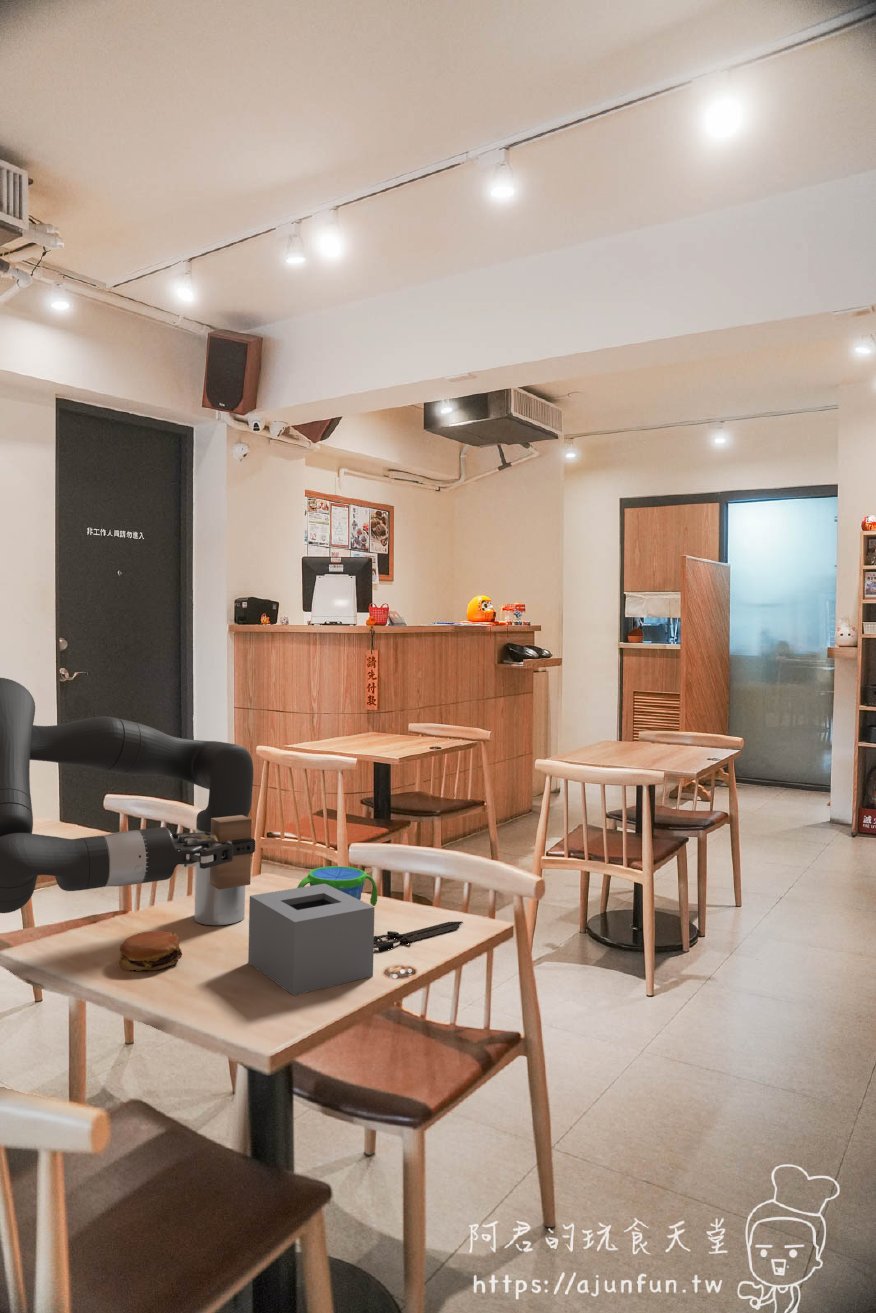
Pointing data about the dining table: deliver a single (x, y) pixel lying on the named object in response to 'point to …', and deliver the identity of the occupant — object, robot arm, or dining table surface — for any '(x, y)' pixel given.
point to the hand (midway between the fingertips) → (248, 842)
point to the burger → (150, 951)
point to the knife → (413, 935)
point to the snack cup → (341, 880)
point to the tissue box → (311, 937)
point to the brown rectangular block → (240, 867)
